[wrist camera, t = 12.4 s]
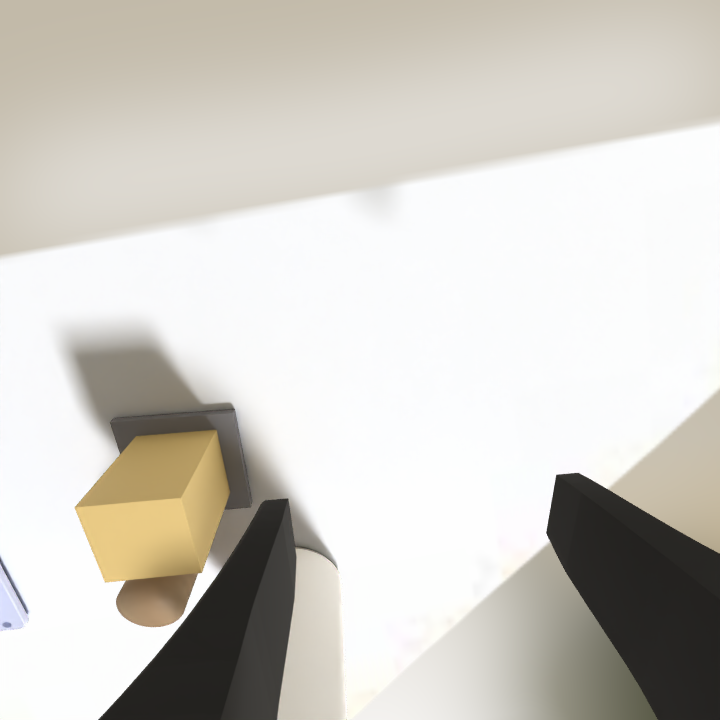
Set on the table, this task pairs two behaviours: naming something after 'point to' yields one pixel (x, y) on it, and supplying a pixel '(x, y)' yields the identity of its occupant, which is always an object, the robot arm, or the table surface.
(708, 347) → the table surface
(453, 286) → the table surface
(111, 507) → the ochre block
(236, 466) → the coaster
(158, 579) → the cork cylinder
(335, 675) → the can
